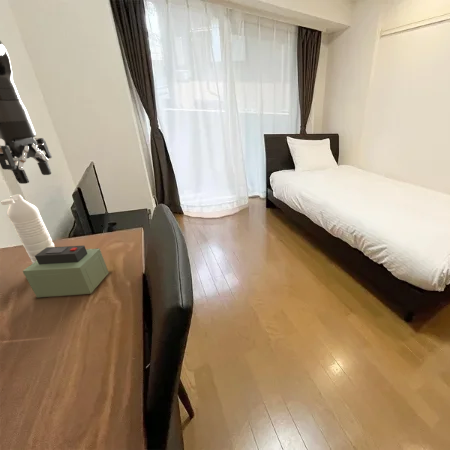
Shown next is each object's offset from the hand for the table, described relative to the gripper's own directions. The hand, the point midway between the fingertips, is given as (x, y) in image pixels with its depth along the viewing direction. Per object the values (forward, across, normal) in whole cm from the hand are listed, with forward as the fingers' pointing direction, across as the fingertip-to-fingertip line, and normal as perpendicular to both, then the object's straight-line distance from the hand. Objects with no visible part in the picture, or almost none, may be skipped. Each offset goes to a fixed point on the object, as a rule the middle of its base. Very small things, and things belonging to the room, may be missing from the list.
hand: (36, 178), depth 78 cm
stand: (+29, +13, +9) cm, 33 cm away
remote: (+20, +13, +9) cm, 25 cm away
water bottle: (+29, +4, -4) cm, 30 cm away
